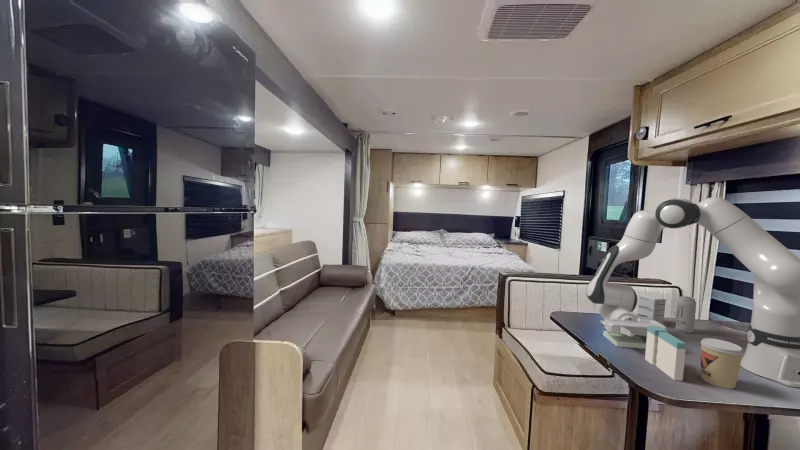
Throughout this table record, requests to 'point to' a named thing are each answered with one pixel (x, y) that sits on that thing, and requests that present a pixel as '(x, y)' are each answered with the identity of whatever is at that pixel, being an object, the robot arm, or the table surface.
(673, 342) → the teal and white box
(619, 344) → the tray
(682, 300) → the energy drink can
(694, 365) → the table surface
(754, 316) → the robot arm
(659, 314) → the supplement box
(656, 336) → the white teal-topped block
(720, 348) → the coffee cup
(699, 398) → the table surface
